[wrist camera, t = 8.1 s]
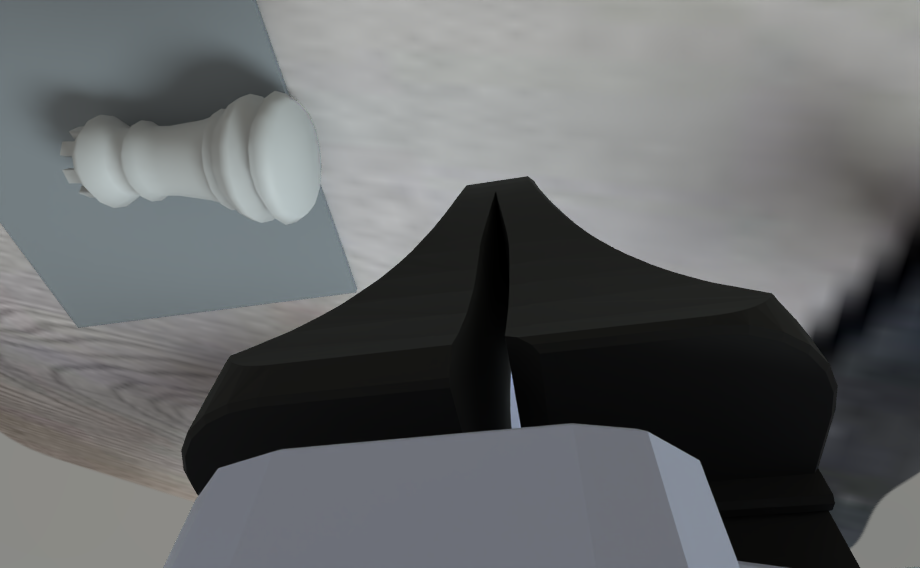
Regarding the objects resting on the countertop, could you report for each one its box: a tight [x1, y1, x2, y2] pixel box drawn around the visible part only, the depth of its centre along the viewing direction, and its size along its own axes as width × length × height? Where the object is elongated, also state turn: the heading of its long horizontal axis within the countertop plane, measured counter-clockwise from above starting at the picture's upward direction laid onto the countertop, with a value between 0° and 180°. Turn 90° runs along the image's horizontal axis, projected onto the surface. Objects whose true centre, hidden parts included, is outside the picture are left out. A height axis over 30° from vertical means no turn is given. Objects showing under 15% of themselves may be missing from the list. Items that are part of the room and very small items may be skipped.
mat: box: [0, 0, 357, 328], centre depth 22 cm, size 16×14×1 cm
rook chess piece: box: [60, 91, 321, 225], centre depth 20 cm, size 4×4×8 cm
